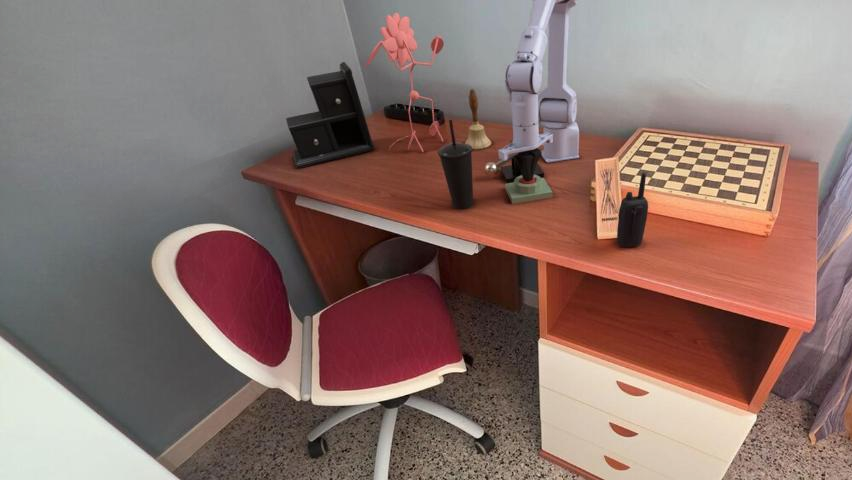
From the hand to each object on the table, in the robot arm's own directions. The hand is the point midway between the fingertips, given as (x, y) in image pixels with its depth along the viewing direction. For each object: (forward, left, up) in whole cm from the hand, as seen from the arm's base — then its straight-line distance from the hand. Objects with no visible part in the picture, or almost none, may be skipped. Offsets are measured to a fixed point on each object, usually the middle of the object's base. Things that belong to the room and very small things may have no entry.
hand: (527, 179), depth 102 cm
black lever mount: (-1, -11, -4) cm, 12 cm away
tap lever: (+2, -11, -1) cm, 11 cm away
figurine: (+25, -44, -4) cm, 51 cm away
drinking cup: (+16, 0, -4) cm, 17 cm away
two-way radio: (-14, +28, -4) cm, 32 cm away
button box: (0, 0, -4) cm, 4 cm away
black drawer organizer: (+51, -45, -4) cm, 68 cm away
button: (0, 0, -2) cm, 2 cm away
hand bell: (+7, -36, -4) cm, 37 cm away
